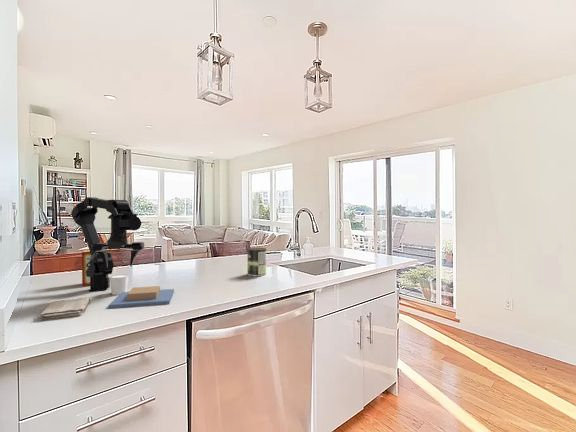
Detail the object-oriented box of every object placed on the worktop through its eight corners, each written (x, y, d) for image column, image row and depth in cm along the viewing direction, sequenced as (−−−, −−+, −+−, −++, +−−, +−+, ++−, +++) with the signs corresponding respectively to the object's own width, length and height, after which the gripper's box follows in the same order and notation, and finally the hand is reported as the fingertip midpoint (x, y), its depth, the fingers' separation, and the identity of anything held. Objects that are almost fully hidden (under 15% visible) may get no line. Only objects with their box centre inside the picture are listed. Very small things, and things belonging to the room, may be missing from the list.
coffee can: (248, 276, 161) (248, 250, 161) (246, 273, 171) (246, 247, 171) (267, 275, 164) (267, 249, 164) (264, 272, 174) (264, 247, 174)
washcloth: (38, 323, 96) (38, 313, 95) (52, 307, 112) (51, 298, 112) (83, 317, 101) (83, 308, 101) (90, 303, 117) (90, 294, 117)
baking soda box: (82, 286, 141) (81, 251, 141) (82, 283, 147) (82, 249, 146) (106, 283, 146) (106, 249, 146) (105, 281, 152) (105, 248, 152)
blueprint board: (108, 308, 109) (108, 297, 109) (122, 295, 126) (121, 286, 126) (169, 303, 114) (169, 293, 114) (174, 291, 131) (173, 283, 131)
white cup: (109, 296, 125) (109, 278, 125) (110, 292, 131) (110, 275, 131) (128, 293, 128) (128, 277, 128) (128, 290, 134) (128, 274, 134)
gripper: (86, 231, 119) (86, 271, 119) (139, 230, 124) (139, 269, 124) (96, 229, 130) (96, 266, 130) (144, 229, 135) (144, 264, 135)
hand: (119, 266), depth 129 cm, fingers open, 9 cm apart
